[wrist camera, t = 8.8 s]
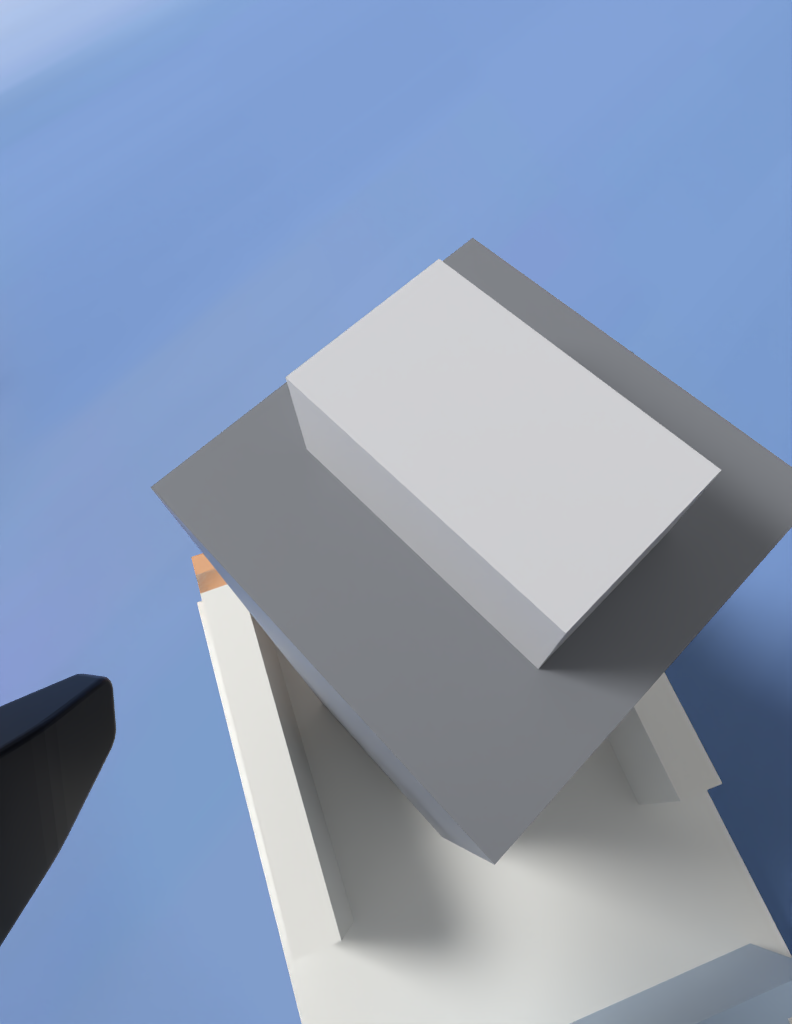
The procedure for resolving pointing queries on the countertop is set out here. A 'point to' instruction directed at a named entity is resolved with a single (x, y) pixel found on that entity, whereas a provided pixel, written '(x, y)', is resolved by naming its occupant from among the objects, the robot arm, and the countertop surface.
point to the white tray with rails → (494, 872)
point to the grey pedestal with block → (480, 535)
